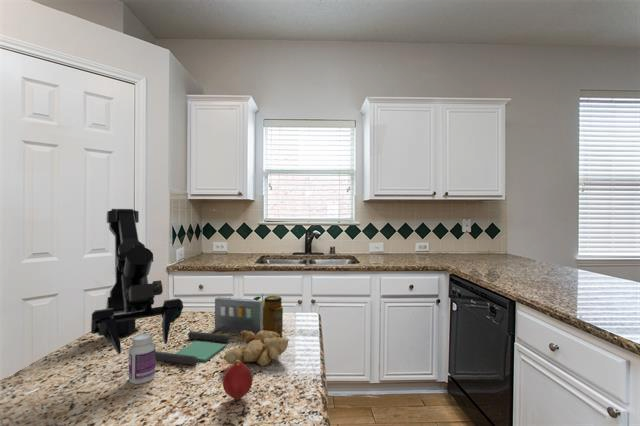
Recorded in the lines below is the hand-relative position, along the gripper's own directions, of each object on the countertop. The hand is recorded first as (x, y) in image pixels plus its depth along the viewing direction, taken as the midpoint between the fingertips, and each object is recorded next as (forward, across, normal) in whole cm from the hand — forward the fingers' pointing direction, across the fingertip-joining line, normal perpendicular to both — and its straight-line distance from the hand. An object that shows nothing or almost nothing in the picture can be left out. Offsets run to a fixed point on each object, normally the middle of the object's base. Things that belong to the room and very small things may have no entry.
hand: (143, 348), depth 72 cm
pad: (0, +15, +11) cm, 19 cm away
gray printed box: (-7, +30, +17) cm, 35 cm away
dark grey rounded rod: (+1, +8, +10) cm, 12 cm away
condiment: (+2, +36, +9) cm, 37 cm away
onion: (+19, +14, -8) cm, 25 cm away
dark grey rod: (-6, +20, +16) cm, 26 cm away
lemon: (-9, +40, +19) cm, 45 cm away
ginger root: (+9, +26, +2) cm, 28 cm away
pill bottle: (+4, 0, +6) cm, 8 cm away
